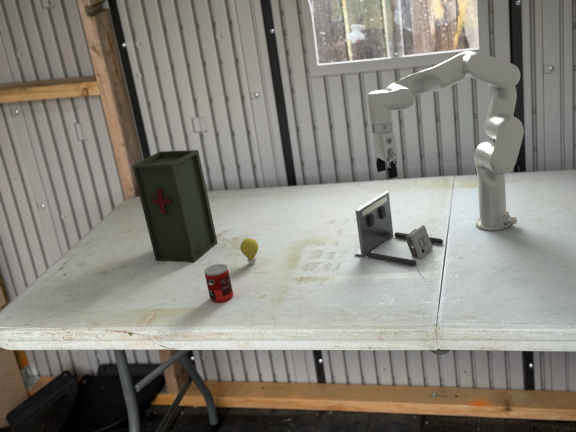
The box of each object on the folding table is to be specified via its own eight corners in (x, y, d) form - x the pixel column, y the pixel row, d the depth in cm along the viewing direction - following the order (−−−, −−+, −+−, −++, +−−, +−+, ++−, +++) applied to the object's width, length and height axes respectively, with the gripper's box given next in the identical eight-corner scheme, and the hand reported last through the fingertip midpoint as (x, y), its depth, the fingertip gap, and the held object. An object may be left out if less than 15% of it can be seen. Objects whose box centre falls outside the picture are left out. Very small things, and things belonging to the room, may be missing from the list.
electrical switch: (420, 259, 228) (416, 234, 225) (407, 259, 231) (403, 234, 229) (433, 249, 235) (429, 224, 232) (420, 248, 238) (415, 224, 235)
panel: (395, 236, 250) (390, 191, 244) (366, 257, 236) (360, 211, 230) (384, 234, 253) (379, 190, 247) (354, 255, 240) (348, 209, 233)
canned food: (210, 294, 228) (204, 266, 224) (233, 290, 228) (227, 262, 224) (210, 305, 221) (203, 275, 217) (233, 300, 221) (227, 271, 217)
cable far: (444, 243, 237) (443, 238, 237) (441, 245, 236) (441, 240, 235) (396, 235, 250) (395, 231, 250) (393, 237, 249) (393, 233, 248)
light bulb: (263, 259, 249) (259, 235, 245) (257, 267, 243) (252, 242, 240) (247, 259, 251) (242, 235, 248) (240, 267, 245) (236, 242, 242)
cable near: (417, 265, 224) (417, 259, 224) (414, 267, 223) (414, 262, 222) (368, 256, 237) (368, 250, 237) (365, 258, 236) (365, 253, 235)
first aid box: (217, 243, 272) (198, 150, 258) (194, 262, 257) (172, 164, 243) (180, 241, 280) (159, 151, 266) (155, 260, 265) (132, 165, 251)
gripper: (402, 129, 219) (407, 177, 225) (381, 120, 235) (387, 166, 241) (382, 134, 217) (387, 182, 223) (362, 125, 233) (368, 171, 239)
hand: (387, 174), depth 232 cm, fingers open, 9 cm apart
